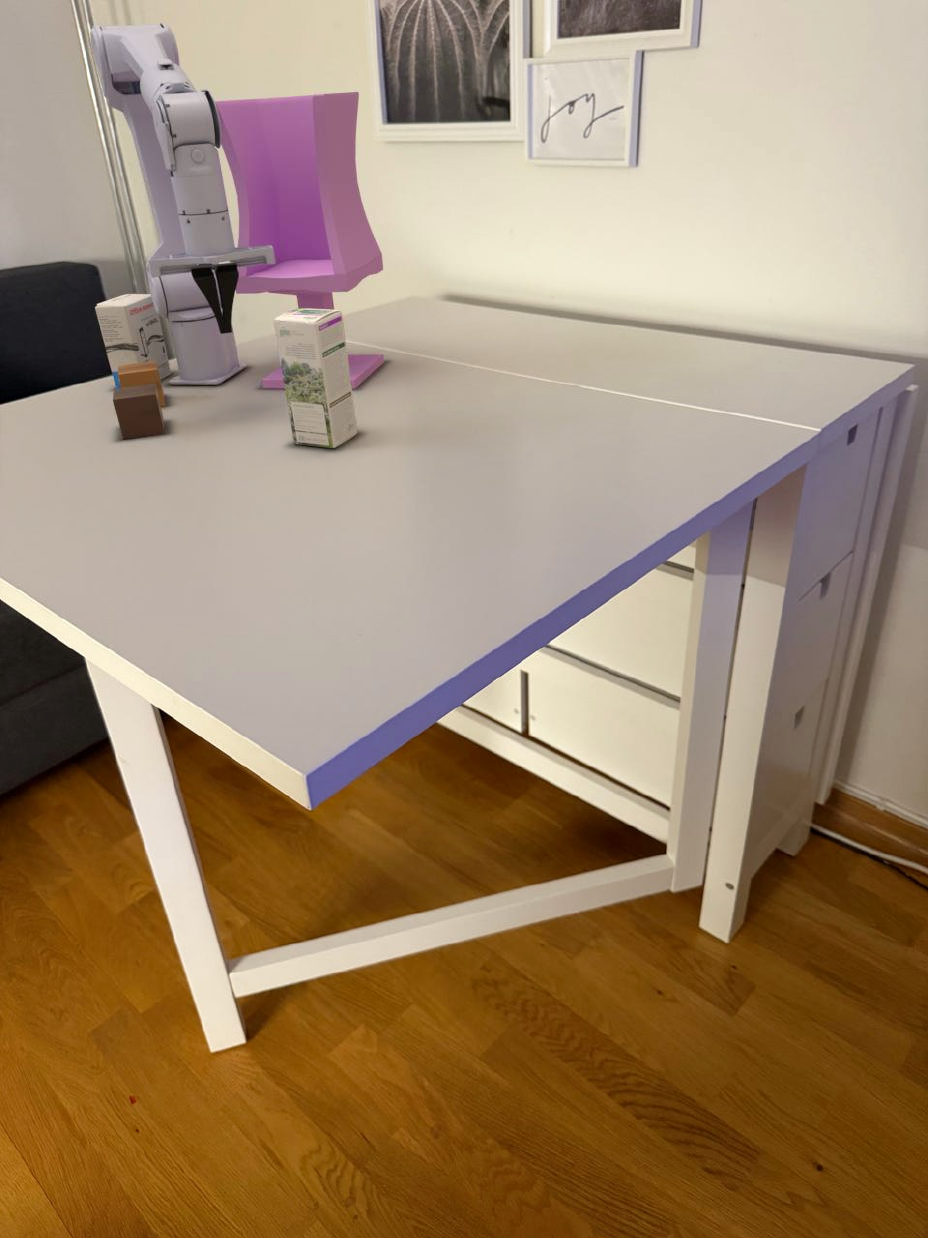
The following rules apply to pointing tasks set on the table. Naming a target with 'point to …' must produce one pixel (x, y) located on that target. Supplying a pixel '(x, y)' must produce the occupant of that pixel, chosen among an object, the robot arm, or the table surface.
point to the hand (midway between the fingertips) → (225, 331)
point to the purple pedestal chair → (301, 202)
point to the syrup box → (316, 376)
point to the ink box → (132, 333)
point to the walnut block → (138, 411)
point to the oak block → (141, 376)
